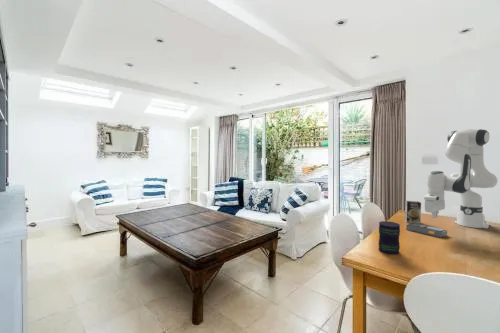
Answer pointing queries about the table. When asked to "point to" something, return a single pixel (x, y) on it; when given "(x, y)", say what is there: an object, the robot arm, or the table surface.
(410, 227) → the rack
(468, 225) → the robot arm
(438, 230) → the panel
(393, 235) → the storage jar
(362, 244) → the table surface
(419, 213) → the coffee box
